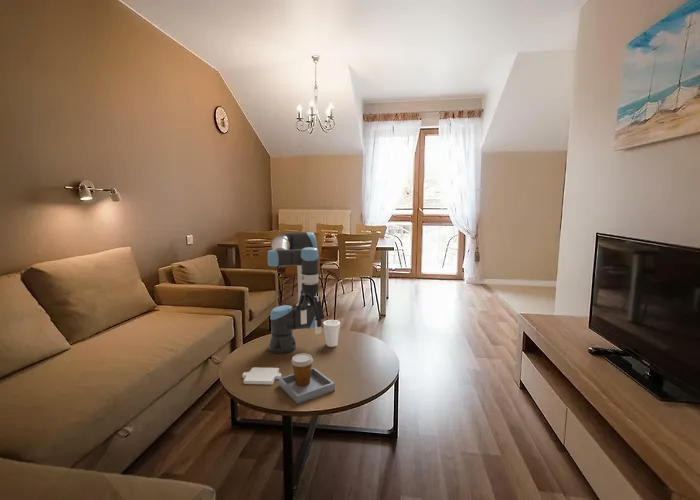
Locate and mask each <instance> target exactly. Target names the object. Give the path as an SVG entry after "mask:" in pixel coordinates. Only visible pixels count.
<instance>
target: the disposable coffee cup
mask: <svg viewBox="0 0 700 500" xmlns="http://www.w3.org/2000/svg"><path fill="white" fill-rule="evenodd" d="M313 361H314V359H313V357H312V355H311V354H310V353H309V354H308V353H297V354H295V355H293V356H292V358H291V361H290V362H291V364H292V370H293V374H294V376H295V382H296V385H297V386H307V385H308V384H309V383H310V376H311V368H312V364H313Z"/></svg>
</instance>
